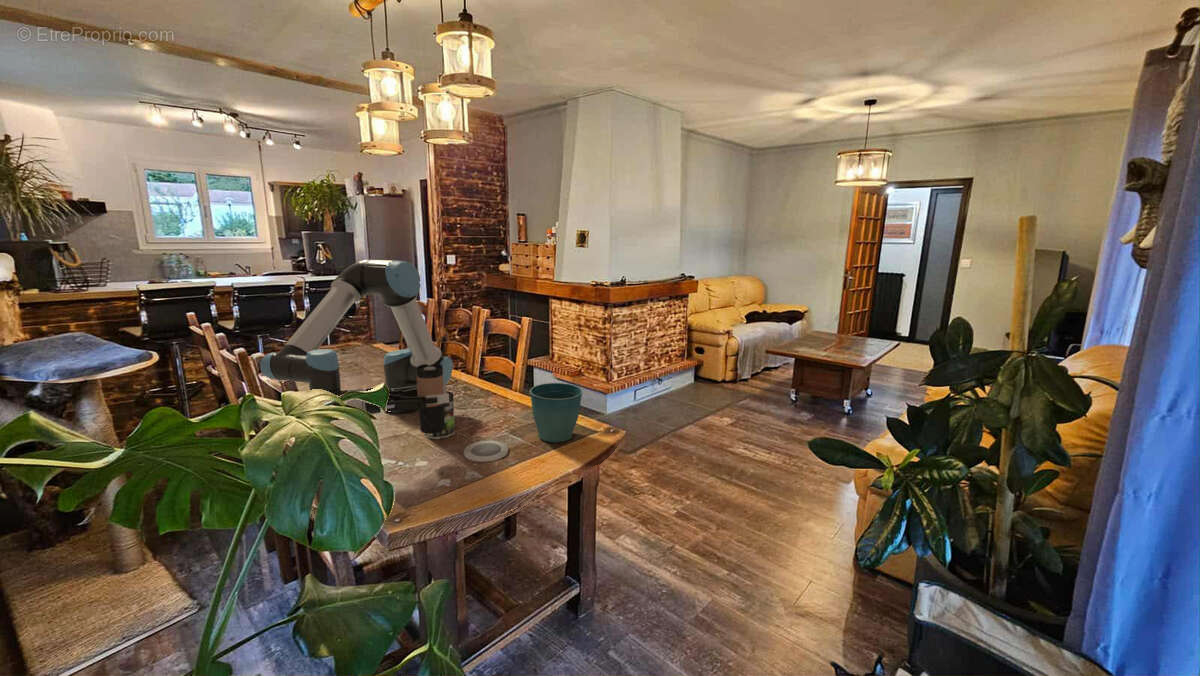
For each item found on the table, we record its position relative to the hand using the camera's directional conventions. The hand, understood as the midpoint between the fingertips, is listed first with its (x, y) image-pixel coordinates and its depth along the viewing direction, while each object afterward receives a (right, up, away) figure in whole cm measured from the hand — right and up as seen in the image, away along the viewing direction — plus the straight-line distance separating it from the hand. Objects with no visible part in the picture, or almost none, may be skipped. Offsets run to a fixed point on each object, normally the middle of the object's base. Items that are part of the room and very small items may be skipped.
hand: (447, 393), depth 146 cm
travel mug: (-5, -11, +1) cm, 12 cm away
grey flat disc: (+10, -20, +8) cm, 23 cm away
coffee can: (-10, -17, +21) cm, 28 cm away
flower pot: (+31, -18, +22) cm, 42 cm away
